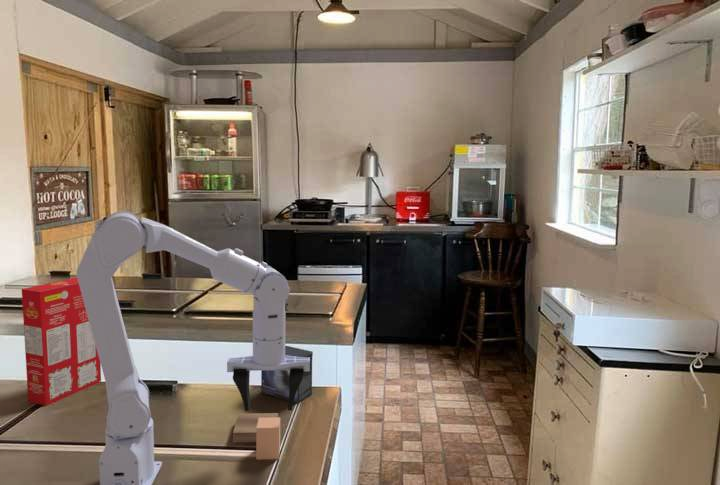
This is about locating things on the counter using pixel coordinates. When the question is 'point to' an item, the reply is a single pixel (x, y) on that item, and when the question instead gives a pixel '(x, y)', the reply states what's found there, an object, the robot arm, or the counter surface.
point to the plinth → (248, 426)
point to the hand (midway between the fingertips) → (268, 408)
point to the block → (268, 438)
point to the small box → (287, 379)
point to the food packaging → (58, 342)
